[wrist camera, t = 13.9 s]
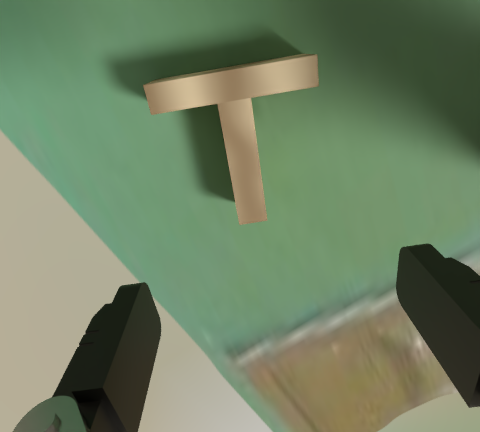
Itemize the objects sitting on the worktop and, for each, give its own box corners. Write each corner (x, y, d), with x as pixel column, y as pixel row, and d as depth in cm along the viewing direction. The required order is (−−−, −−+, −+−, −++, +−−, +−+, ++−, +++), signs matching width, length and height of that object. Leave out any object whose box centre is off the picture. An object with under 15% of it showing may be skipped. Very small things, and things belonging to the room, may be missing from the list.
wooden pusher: (303, 53, 25) (317, 54, 22) (311, 191, 31) (323, 211, 27) (155, 79, 26) (143, 85, 22) (189, 210, 31) (184, 233, 28)
